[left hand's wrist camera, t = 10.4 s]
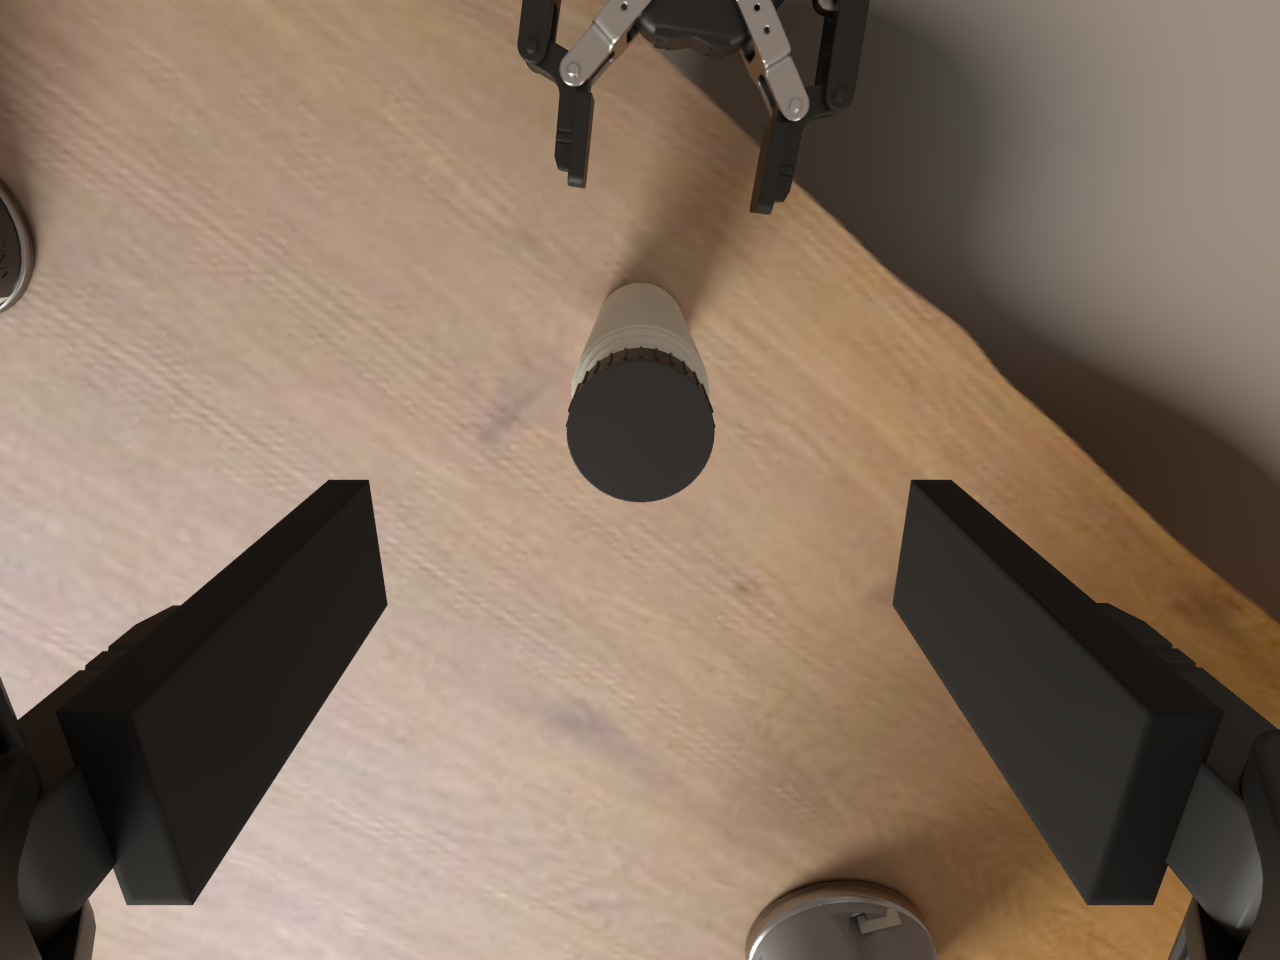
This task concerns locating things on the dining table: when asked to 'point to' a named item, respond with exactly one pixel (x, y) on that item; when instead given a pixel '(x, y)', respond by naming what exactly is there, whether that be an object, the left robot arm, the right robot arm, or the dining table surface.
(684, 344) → the bottle
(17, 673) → the dining table surface
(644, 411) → the cap
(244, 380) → the dining table surface
